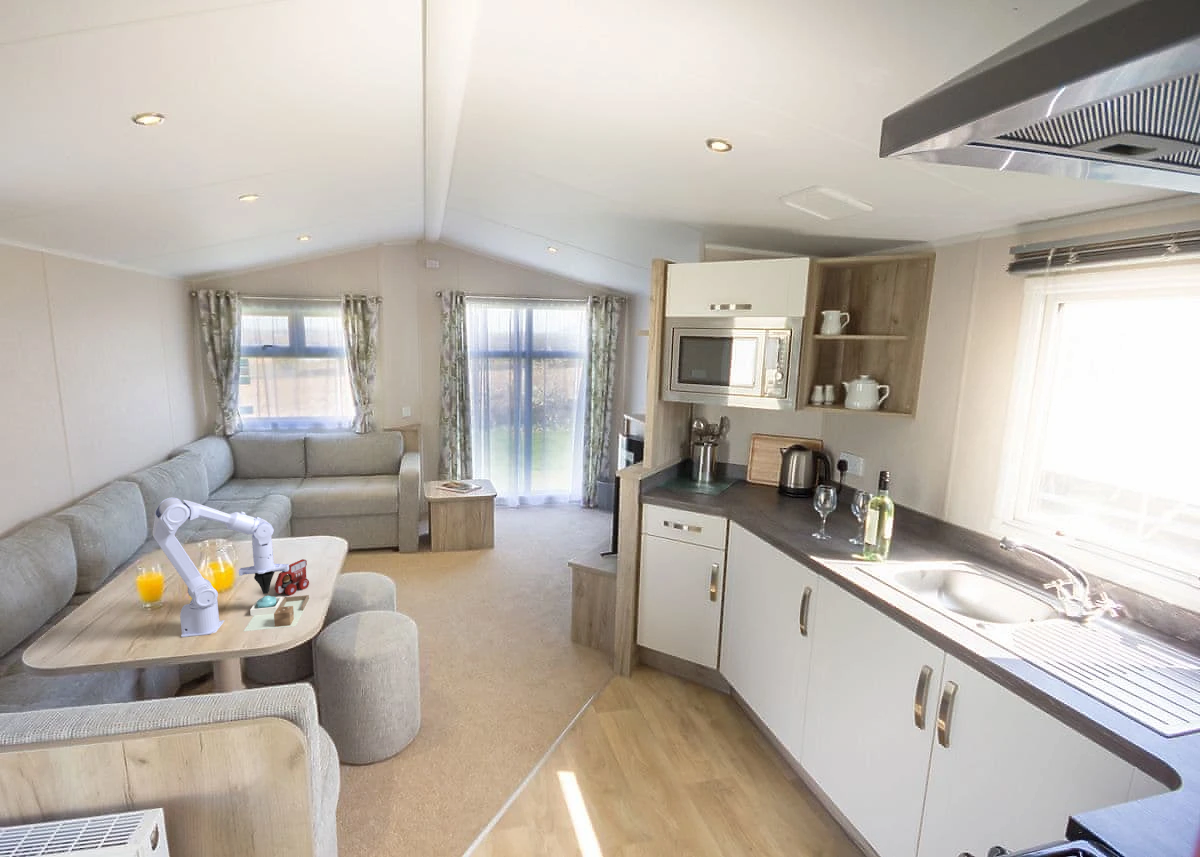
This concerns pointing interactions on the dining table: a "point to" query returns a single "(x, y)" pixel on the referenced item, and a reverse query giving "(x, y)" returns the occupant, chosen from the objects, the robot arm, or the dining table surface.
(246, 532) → the robot arm
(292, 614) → the die
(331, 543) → the dining table surface
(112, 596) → the dining table surface
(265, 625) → the pale green flat board
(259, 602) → the dome
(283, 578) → the toy fire truck
